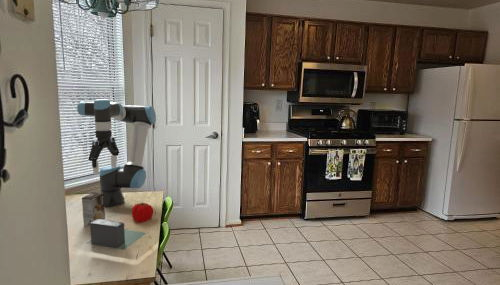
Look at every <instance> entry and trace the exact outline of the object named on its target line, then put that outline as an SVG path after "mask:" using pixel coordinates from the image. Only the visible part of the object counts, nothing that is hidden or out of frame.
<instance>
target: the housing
mask: <svg viewBox="0 0 500 285" xmlns="http://www.w3.org/2000/svg"><path fill="white" fill-rule="evenodd" d="M89 226H90V227H89V228H90V229H89V230H90V240H91V244H90V245H93V244H95V245H94V246H99V245H101V246H100V247H104V246H107V247H106V248H110V247H113V248H112V249H116V248H119V247H121V246H122V245H123V244H125V231H124V229H125V222H121V221H115V220H109V219H105V220H103V219H96V220H94V221H93V222H91V223H90V225H89Z"/></svg>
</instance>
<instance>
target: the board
mask: <svg viewBox="0 0 500 285" xmlns="http://www.w3.org/2000/svg"><path fill="white" fill-rule="evenodd" d="M124 231H125V244H123V245H122V246H121V247H119V248H115V249H117V250H122V251H123V250H125V249H127V248H128V247H130V246H131V245H132V244H134V243H136V242H137V241H138V240H139V239H140V238H142V237H143V236H145V235H146V234H147V232H143V231H138V230H137V231H136V230H132V229H131V230H130V229H125V228H124ZM86 244H87V245H88V244H89V245H94V246H96V245H95V244H91V239H90V240H88V241H86ZM99 246H100V247H102V246H101V245H98V247H99ZM104 247H105V248H108V247H107V246H103V248H104ZM109 248H111V249H114V248H113V247H109Z"/></svg>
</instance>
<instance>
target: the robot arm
mask: <svg viewBox="0 0 500 285" xmlns="http://www.w3.org/2000/svg"><path fill="white" fill-rule="evenodd" d="M76 108H77V109H76V110H77V113H78V115H80V116H84V117H89V116H90V117H94V127H95V134H94V135H95V138H96V139H97V140H92V144H91V149H90V153H89V156H88V161H90V162H91V166H92V172H93V174H94V175H99V184H100V187H99V188H100V192H99V193H104V208H112V207H118V206H121V205H122V204H124V203H125V197H124V194H123V192H122V189H123V188H124V189H133V190H134V189H140V188H142V187H143V186H144V185H145V182H146V179H147V172H146V170H145V167H144V166H143V159H144V155H145V150H146V149H145V148H146V144H147V136H148V133H149V132H148V131H149V129H151V127H152V125H154V124H155V123H156V121H157V116H156V111H155V108H154V107H153V106H151V105H132V104H131V105H128V104H127V105H122V104H121V103H120V102H118V101H117V102H116V101H112V102H111V100H110V99H106V98H105V99H103V98H101V99H99V98H98V99H97V98H95V99H94V100H93V101H80V102H78V104H77V107H76ZM112 119H113V120H115V121H118V122H123V123H128V124H129V123H130V124H132V126H133V132H132V137H131V143H130V148H129V153H128V159H127V162H126V163H125V164H124V165H123V168H121V166H120V165H118V164H117V160H118V159H117V156H119V154H120V150H119V149H118V146H117V143H116V139H115V137H112V136H113V135H112ZM104 149H107V151H109V153H110V154H111V155H110V165H108V166H104V167H101V168H100V169H99V157H100V154H101V153H102V150H104Z"/></svg>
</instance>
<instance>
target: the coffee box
mask: <svg viewBox="0 0 500 285" xmlns="http://www.w3.org/2000/svg"><path fill="white" fill-rule="evenodd" d="M81 202H82V203H81V206H82V216H83V217H82V218H83V219H82V220H83V227H85V226H90V223H91V222H93V221H94V220H96V219H103V220H106V215H105V213H106V212H105V207H104V193H100V192H91V193H89V194H87V195H85V196H83V197H81Z"/></svg>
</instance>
